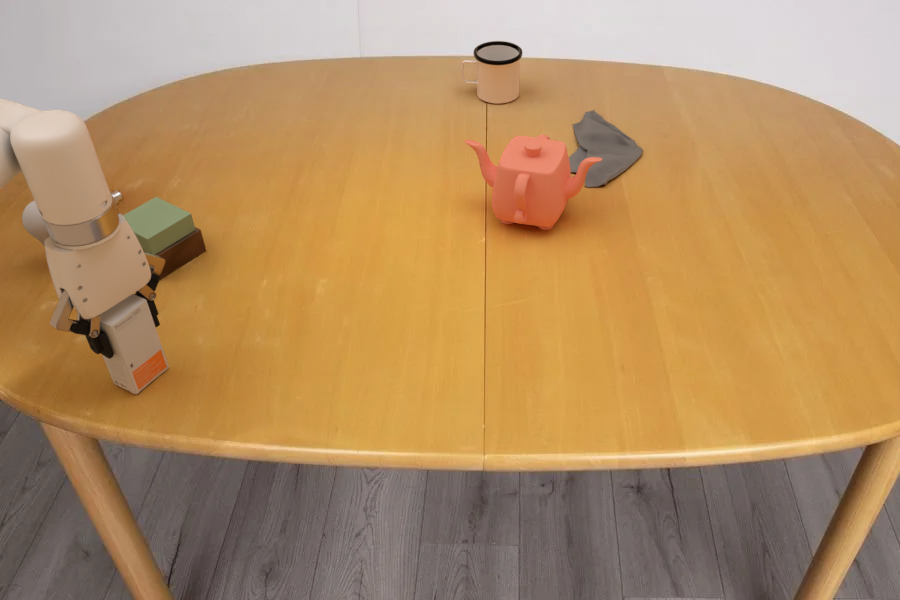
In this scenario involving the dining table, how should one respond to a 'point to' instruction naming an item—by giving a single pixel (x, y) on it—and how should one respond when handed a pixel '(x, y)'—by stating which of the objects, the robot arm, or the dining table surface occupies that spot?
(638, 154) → the cloth
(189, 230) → the green block
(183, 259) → the walnut block
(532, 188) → the teapot
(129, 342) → the cosmetic box
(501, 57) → the mug
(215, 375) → the dining table surface
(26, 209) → the lightbulb
